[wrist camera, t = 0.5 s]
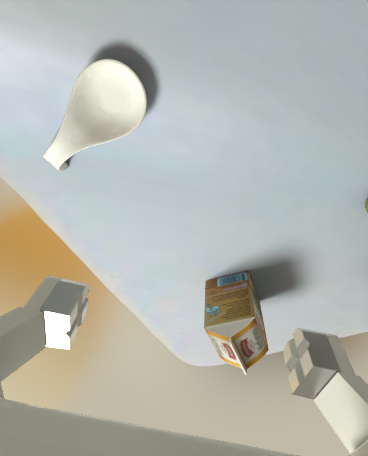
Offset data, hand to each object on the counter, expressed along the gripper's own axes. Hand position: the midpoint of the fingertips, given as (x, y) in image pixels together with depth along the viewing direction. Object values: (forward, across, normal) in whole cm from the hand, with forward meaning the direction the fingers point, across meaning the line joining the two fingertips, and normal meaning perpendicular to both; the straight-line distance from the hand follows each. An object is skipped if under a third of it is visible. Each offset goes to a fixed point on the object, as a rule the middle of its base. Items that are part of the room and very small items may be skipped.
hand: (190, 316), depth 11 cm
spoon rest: (+47, +19, +7) cm, 51 cm away
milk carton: (+47, -17, +40) cm, 64 cm away
